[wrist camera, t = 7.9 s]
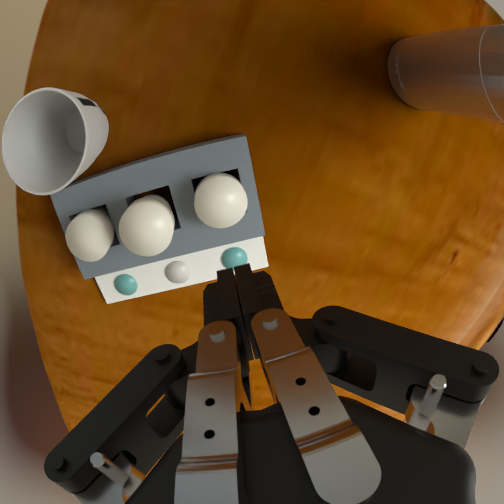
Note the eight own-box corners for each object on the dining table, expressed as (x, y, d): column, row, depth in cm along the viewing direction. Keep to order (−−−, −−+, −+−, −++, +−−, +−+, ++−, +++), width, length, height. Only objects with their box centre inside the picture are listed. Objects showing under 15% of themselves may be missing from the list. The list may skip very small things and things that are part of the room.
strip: (261, 232, 34) (262, 235, 33) (267, 263, 36) (268, 267, 35) (95, 273, 33) (93, 277, 32) (108, 301, 35) (106, 304, 34)
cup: (132, 99, 26) (101, 95, 17) (112, 175, 29) (77, 205, 20) (63, 86, 23) (12, 83, 14) (47, 160, 26) (-4, 184, 17)
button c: (112, 196, 29) (99, 210, 25) (126, 236, 31) (115, 255, 27) (75, 208, 28) (58, 224, 24) (90, 246, 31) (76, 266, 27)
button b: (169, 183, 27) (163, 197, 23) (182, 228, 29) (179, 249, 25) (124, 196, 27) (111, 212, 23) (138, 239, 29) (129, 261, 25)
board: (242, 133, 29) (246, 135, 26) (259, 224, 33) (265, 235, 31) (61, 186, 28) (49, 194, 25) (92, 266, 32) (84, 279, 30)
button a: (236, 162, 29) (241, 172, 25) (245, 205, 32) (252, 221, 27) (190, 173, 29) (188, 184, 25) (201, 216, 31) (201, 233, 27)
